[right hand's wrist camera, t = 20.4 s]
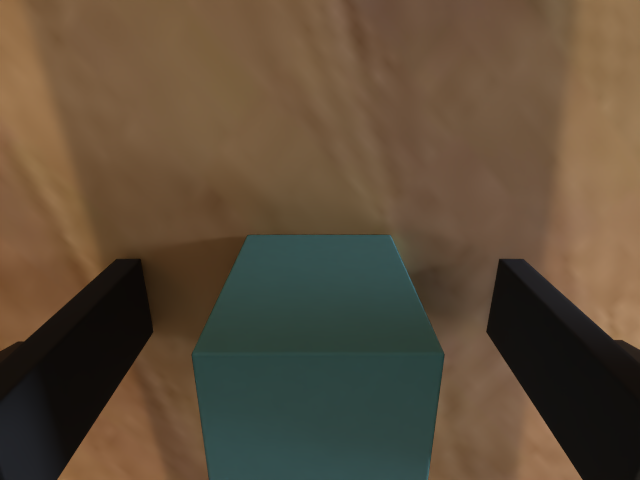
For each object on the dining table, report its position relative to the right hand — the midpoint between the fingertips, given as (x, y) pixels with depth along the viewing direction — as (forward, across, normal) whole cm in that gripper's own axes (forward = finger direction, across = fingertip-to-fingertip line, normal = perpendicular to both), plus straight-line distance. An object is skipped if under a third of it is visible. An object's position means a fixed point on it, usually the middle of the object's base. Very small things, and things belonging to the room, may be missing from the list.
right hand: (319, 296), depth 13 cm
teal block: (0, 0, 0) cm, 0 cm away
